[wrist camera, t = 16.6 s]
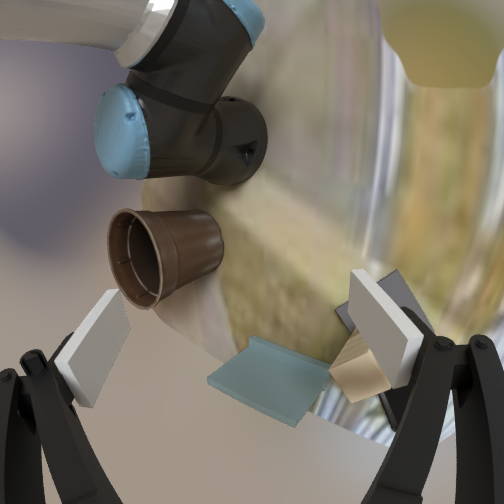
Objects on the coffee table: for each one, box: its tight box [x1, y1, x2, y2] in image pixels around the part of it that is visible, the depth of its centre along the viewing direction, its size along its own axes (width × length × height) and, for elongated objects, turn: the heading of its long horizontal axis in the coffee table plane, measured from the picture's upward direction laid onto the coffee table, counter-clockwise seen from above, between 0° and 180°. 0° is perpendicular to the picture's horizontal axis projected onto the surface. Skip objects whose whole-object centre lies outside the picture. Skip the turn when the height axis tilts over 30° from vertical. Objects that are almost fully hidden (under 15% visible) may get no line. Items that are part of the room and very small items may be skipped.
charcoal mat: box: [336, 269, 434, 334], centre depth 38 cm, size 11×11×1 cm
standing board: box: [207, 335, 331, 427], centre depth 44 cm, size 5×16×13 cm, turn 86°
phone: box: [378, 375, 415, 432], centre depth 38 cm, size 8×1×15 cm
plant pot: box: [107, 209, 224, 310], centre depth 49 cm, size 16×16×16 cm
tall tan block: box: [328, 327, 391, 403], centre depth 32 cm, size 5×5×14 cm
